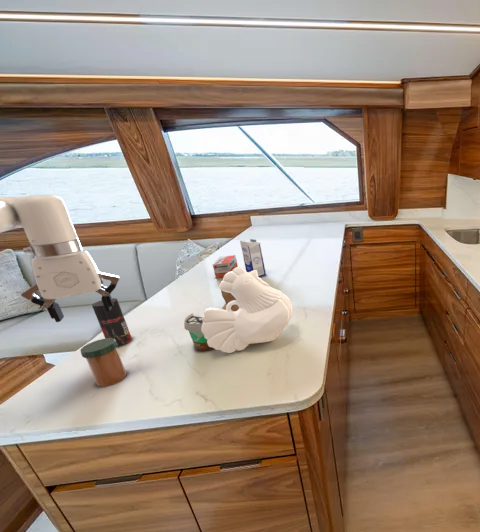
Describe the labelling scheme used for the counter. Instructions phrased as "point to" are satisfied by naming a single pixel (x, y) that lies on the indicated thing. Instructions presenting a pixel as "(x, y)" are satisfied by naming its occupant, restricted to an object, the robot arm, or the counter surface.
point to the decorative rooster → (246, 313)
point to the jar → (107, 368)
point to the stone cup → (229, 300)
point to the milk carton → (253, 257)
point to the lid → (98, 348)
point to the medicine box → (224, 265)
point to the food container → (196, 332)
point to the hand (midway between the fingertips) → (85, 314)
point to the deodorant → (112, 322)
